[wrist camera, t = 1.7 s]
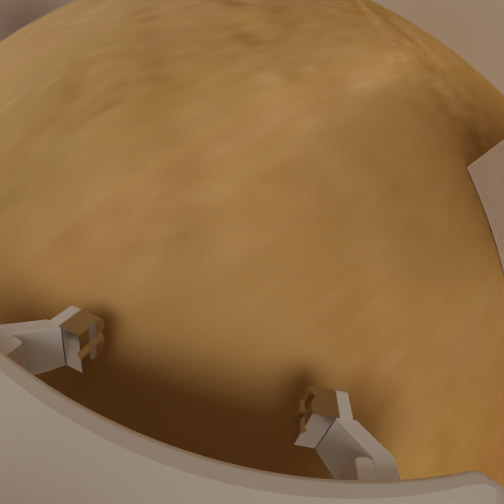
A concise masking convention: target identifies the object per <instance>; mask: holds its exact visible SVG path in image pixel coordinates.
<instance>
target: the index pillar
mask: <svg viewBox="0 0 504 504" xmlns="http://www.w3.org/2000/svg"><path fill="white" fill-rule="evenodd" d="M467 169H468V172H469V174H470V176H471V178H472V181H473V183H474V185H475V188H476V190H477V192H478V195H479V197H480V200H481V202H482V205H483V207H484V210H485V213H486V216H487V218H488V221H489V224H490V227H491V230H492V233H493V236H494V239H495V243H496V246H497V249H498V253H499V256H500V260H501V264H502V268H503V272H504V139H503V140H502V141H501V142H499V143H498V144H497V145H496V146H494V147H493V148H492V149H490V150H489V151H488V152H486V153H485V154H484V155H482V156H481V157H480V158H478V159H477V160H476V161H474V162H473V163H472V164H470V165H469V166H468V167H467Z"/></svg>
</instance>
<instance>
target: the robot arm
mask: <svg viewBox="0 0 504 504" xmlns="http://www.w3.org/2000/svg"><path fill="white" fill-rule="evenodd" d="M103 329H104V321H103V320H102V319H101V318H99V317H97V316H95V315H93V314H91V313H89V312H86V311H84V310H82V309H80V308H78V307H76V306H70V307H69V308H67V309H66V310H64V311H63V312H61V313H60V314H58V315H57V316H55V317H54V318H52V319H51V320H50V321H49V320H47V319H45V320H37V321H29V322H20V323H11V324H2V325H0V504H504V488H503V487H502V486H501V485H499V484H498V483H497V482H495V481H494V480H492V479H491V478H489V477H488V476H486V475H485V474H483V473H481V472H479V471H477V470H472V471H465V472H461V473H456V474H450V475H443V476H435V477H427V478H417V479H403V480H400V477H399V473H398V469H397V465H396V461H395V458H394V456H392V455H391V454H390V453H389V452H388V451H387V450H386V449H385V448H384V447H383V446H382V445H381V444H380V443H379V442H378V441H377V440H376V439H375V438H374V437H373V436H372V435H371V434H370V433H369V432H368V431H367V430H366V429H365V428H364V427H363V426H362V425H361V424H360V423H359V422H358V421H355V420H353V415H352V410H351V406H350V401H349V397H348V393H347V392H346V391H341V390H335V389H334V390H332V389H327V388H321V387H316V386H311V385H309V386H308V387H307V388H306V390H305V392H304V399H302V400H300V402H299V404H298V406H297V409H296V412H295V417H294V423H295V425H296V426H297V427H296V429H295V431H294V445H298V446H304V447H310V448H316V449H315V450H316V452H317V453H318V455H319V456H320V458H321V459H322V461H323V463H324V464H325V466H326V467H327V469H328V470H329V472H330V473H331V475H332V476H333V478H334V479H323V478H313V477H304V476H296V475H288V474H282V473H276V472H270V471H264V470H259V469H254V468H249V467H245V466H240V465H236V464H232V463H228V462H224V461H220V460H217V459H213V458H209V457H206V456H202V455H199V454H196V453H193V452H190V451H187V450H183V449H181V448H178V447H175V446H172V445H169V444H166V443H164V442H161V441H158V440H156V439H153V438H151V437H148V436H146V435H143V434H141V433H139V432H136V431H134V430H132V429H129V428H127V427H125V426H123V425H120V424H118V423H116V422H114V421H112V420H110V419H108V418H106V417H104V416H102V415H100V414H98V413H96V412H94V411H92V410H90V409H88V408H86V407H85V406H83V405H81V404H79V403H77V402H76V401H74V400H72V399H70V398H69V397H67V396H65V395H64V394H62V393H60V392H59V391H57V390H56V389H54V388H52V387H51V386H49V385H48V384H46V383H45V382H43V381H42V380H40V379H39V378H37V377H36V376H35V375H38V374H41V373H44V372H47V371H50V370H53V369H56V368H59V367H62V366H65V364H66V365H68V366H70V367H72V368H74V369H76V370H78V371H80V372H82V373H83V372H84V371H85V369H86V368H87V367H88V366H89V365H90V364H91V359H94V358H97V357H98V356H99V355H100V354H101V352H102V350H103V347H104V336H103V334H102V332H101V331H102V330H103Z"/></svg>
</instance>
